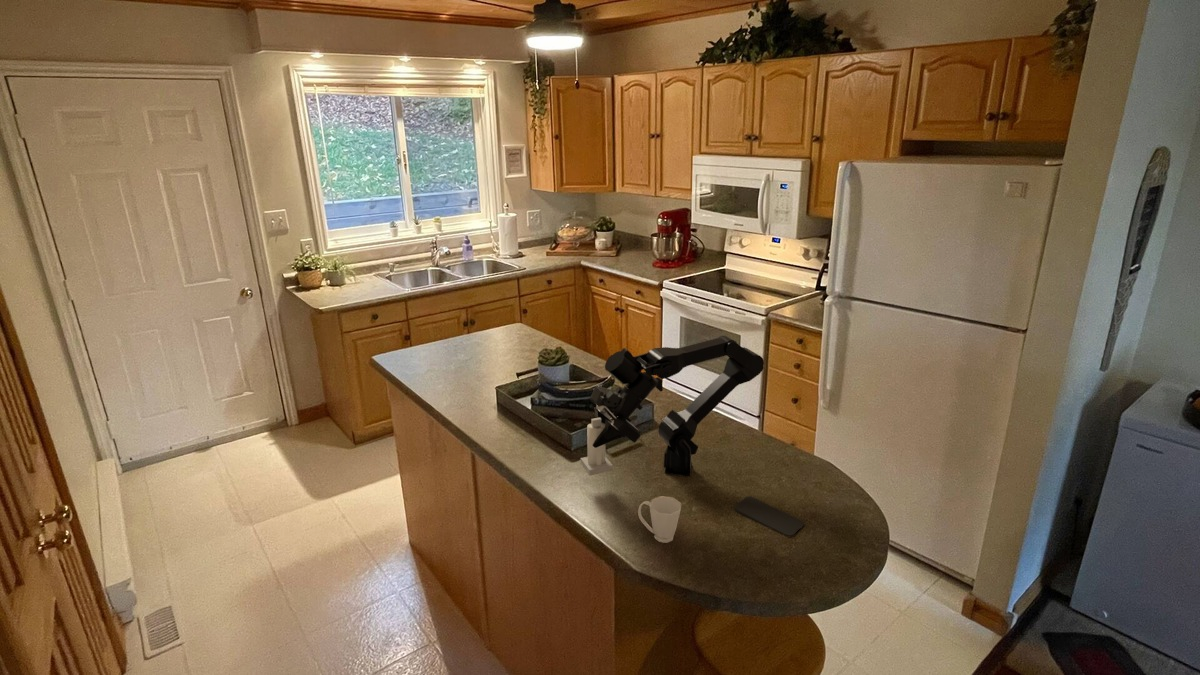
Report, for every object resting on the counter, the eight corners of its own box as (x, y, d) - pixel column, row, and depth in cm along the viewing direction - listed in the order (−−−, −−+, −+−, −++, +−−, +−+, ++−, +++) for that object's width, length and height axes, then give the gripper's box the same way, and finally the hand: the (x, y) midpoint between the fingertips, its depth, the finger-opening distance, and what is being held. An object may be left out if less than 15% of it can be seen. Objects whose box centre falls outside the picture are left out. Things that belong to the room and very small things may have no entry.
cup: (670, 551, 133) (672, 518, 130) (630, 534, 138) (631, 502, 135) (685, 534, 138) (687, 502, 135) (646, 518, 143) (647, 487, 141)
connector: (603, 458, 157) (603, 411, 153) (612, 470, 152) (613, 422, 147) (580, 463, 155) (580, 415, 150) (589, 475, 150) (589, 426, 145)
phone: (790, 537, 137) (731, 507, 147) (790, 540, 137) (731, 510, 147) (806, 522, 142) (748, 494, 152) (806, 525, 142) (748, 497, 152)
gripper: (596, 361, 155) (555, 409, 155) (628, 390, 139) (582, 444, 138) (625, 385, 160) (585, 432, 160) (659, 416, 144) (615, 468, 144)
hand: (591, 443), depth 151 cm, fingers closed on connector, 3 cm apart
